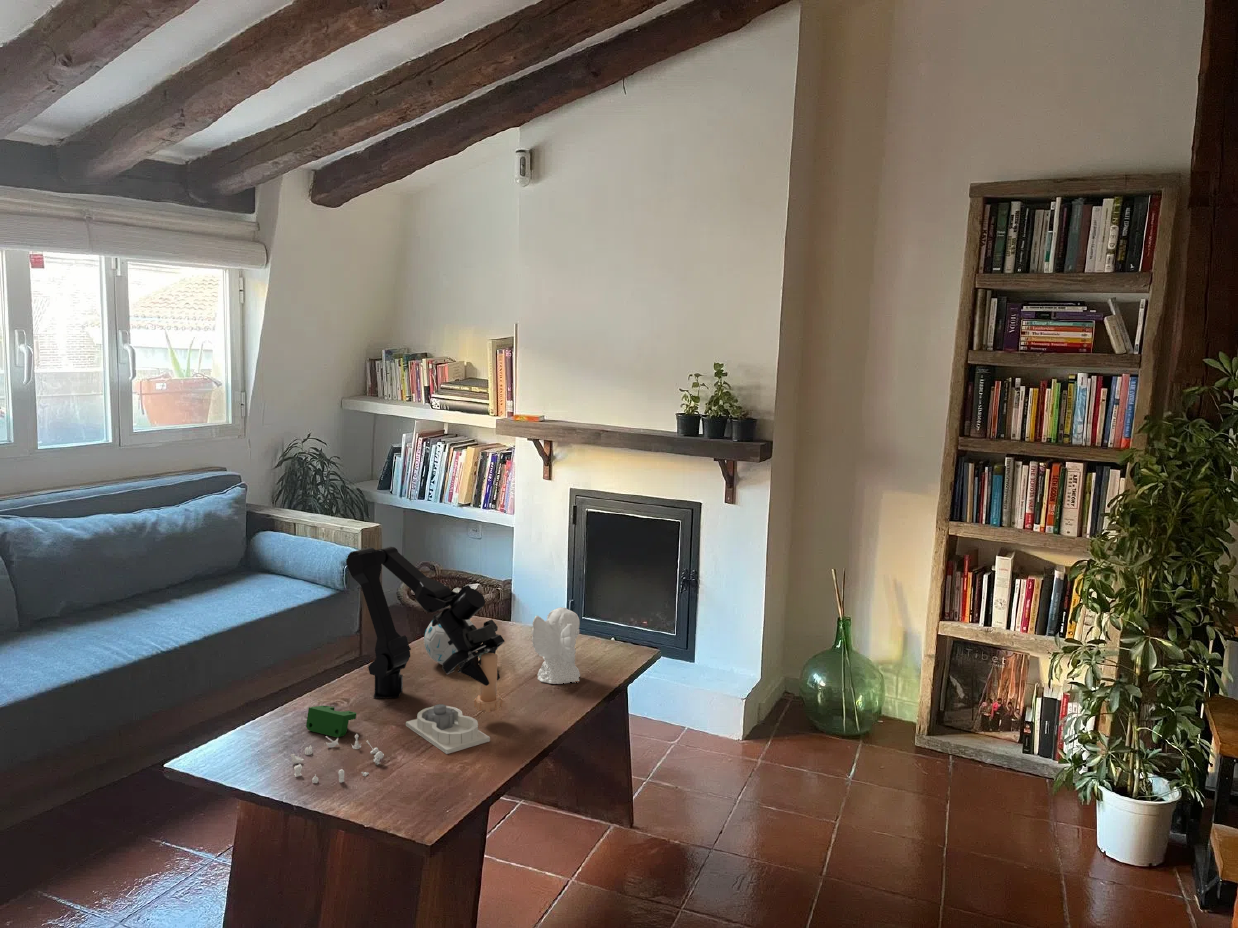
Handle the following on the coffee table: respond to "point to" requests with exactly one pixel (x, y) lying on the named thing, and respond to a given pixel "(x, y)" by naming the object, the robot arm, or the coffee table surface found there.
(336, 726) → the clamp
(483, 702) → the knob on notched ring
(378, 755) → the game piece set
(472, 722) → the housing
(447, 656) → the puzzle ball
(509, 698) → the coffee table surface
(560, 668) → the cherub figurine
